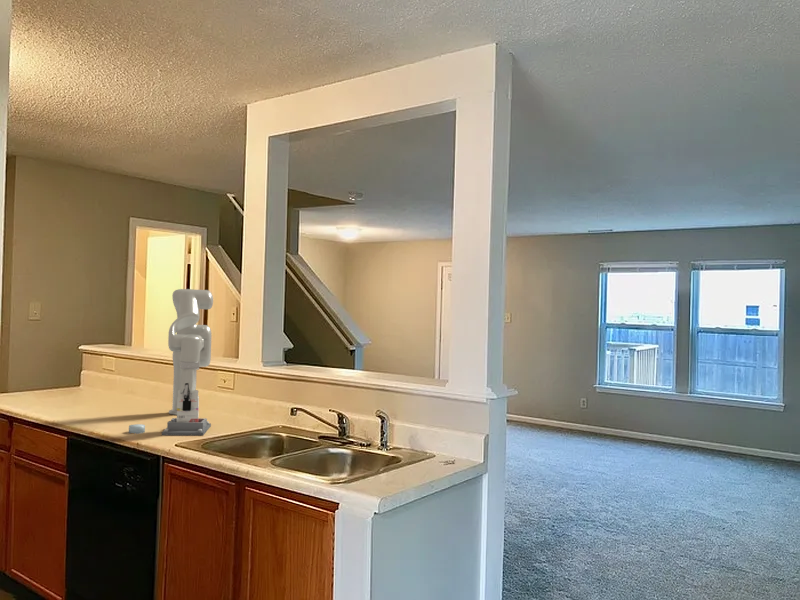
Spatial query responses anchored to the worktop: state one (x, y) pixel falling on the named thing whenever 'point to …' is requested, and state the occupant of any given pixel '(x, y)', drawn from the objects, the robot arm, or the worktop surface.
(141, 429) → the pale blue dome
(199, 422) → the chassis plate
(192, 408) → the ink cartridge box
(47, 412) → the worktop surface
